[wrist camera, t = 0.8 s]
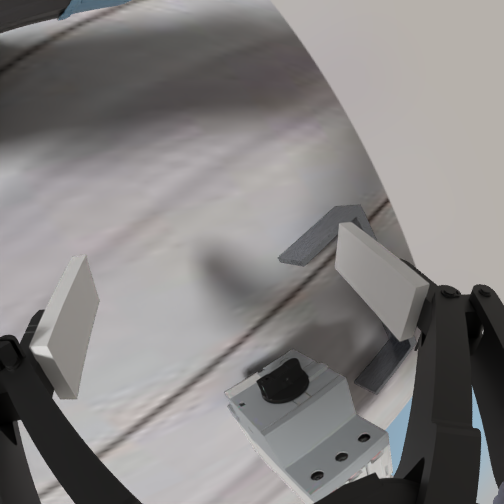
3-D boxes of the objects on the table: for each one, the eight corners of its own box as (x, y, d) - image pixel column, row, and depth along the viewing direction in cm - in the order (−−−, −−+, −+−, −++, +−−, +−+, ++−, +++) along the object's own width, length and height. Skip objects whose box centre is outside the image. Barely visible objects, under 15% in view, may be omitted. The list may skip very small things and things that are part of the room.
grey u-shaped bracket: (277, 257, 31) (300, 261, 28) (335, 206, 34) (360, 204, 31) (355, 384, 38) (376, 394, 35) (395, 336, 41) (416, 342, 37)
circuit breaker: (266, 323, 31) (379, 378, 18) (305, 416, 35) (393, 478, 21) (201, 361, 28) (286, 452, 15) (254, 450, 32) (331, 529, 18)
